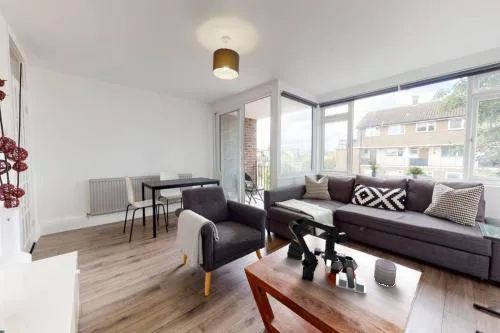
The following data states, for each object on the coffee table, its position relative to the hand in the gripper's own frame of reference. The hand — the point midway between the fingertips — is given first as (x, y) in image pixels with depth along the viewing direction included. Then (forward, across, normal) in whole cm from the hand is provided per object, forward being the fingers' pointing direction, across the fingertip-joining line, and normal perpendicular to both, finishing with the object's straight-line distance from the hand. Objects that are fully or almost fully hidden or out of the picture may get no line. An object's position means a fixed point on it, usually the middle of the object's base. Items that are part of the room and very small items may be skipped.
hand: (328, 267), depth 132 cm
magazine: (+6, -23, +12) cm, 27 cm away
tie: (0, 0, 0) cm, 0 cm away
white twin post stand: (+6, +13, -3) cm, 15 cm away
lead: (+5, +13, -1) cm, 14 cm away
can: (+6, +33, +10) cm, 35 cm away
